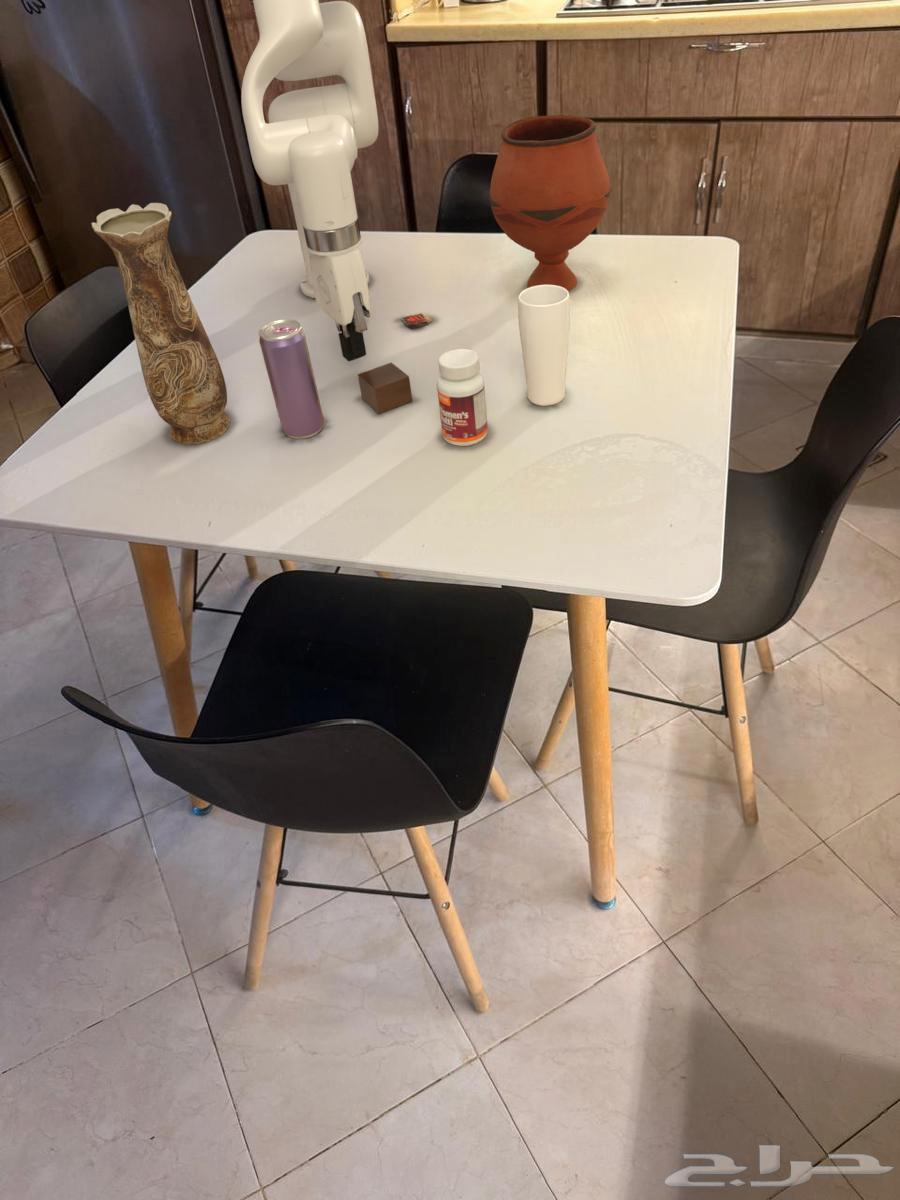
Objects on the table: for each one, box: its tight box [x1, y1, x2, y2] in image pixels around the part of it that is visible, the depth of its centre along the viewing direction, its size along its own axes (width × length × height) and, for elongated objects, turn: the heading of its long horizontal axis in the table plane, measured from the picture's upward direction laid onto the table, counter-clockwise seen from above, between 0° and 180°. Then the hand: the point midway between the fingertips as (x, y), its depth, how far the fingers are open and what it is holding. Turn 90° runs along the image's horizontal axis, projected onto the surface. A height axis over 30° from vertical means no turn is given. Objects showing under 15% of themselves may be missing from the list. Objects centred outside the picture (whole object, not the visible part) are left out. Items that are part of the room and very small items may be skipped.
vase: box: [91, 202, 231, 445], centre depth 115 cm, size 10×11×30 cm
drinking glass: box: [517, 285, 571, 407], centre depth 117 cm, size 7×7×15 cm
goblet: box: [489, 114, 611, 292], centre depth 142 cm, size 19×19×25 cm
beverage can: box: [258, 319, 325, 440], centre depth 118 cm, size 6×6×15 cm
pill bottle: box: [436, 348, 488, 447], centre depth 114 cm, size 6×6×11 cm
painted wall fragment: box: [399, 312, 433, 329], centre depth 144 cm, size 5×5×1 cm
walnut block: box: [357, 362, 413, 415], centre depth 125 cm, size 6×6×4 cm
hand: (354, 356), depth 131 cm, fingers closed
